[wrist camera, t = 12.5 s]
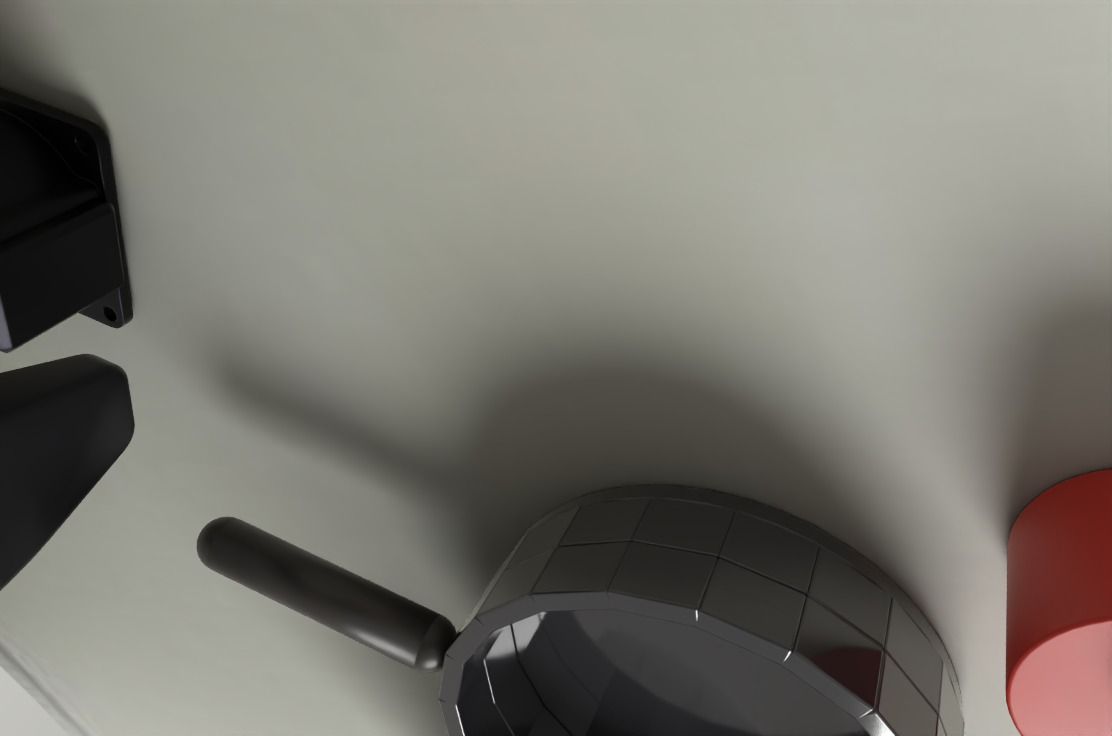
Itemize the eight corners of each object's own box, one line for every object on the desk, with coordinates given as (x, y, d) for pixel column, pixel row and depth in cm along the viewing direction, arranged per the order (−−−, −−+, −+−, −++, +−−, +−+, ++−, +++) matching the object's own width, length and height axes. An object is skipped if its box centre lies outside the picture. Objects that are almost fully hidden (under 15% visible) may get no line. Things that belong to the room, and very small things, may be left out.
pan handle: (222, 534, 28) (186, 569, 27) (220, 497, 27) (182, 532, 26) (465, 650, 26) (438, 694, 25) (471, 615, 25) (442, 659, 24)
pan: (479, 699, 32) (421, 799, 29) (537, 410, 24) (466, 506, 21) (853, 882, 29) (834, 1017, 26) (1062, 623, 21) (1069, 773, 18)
